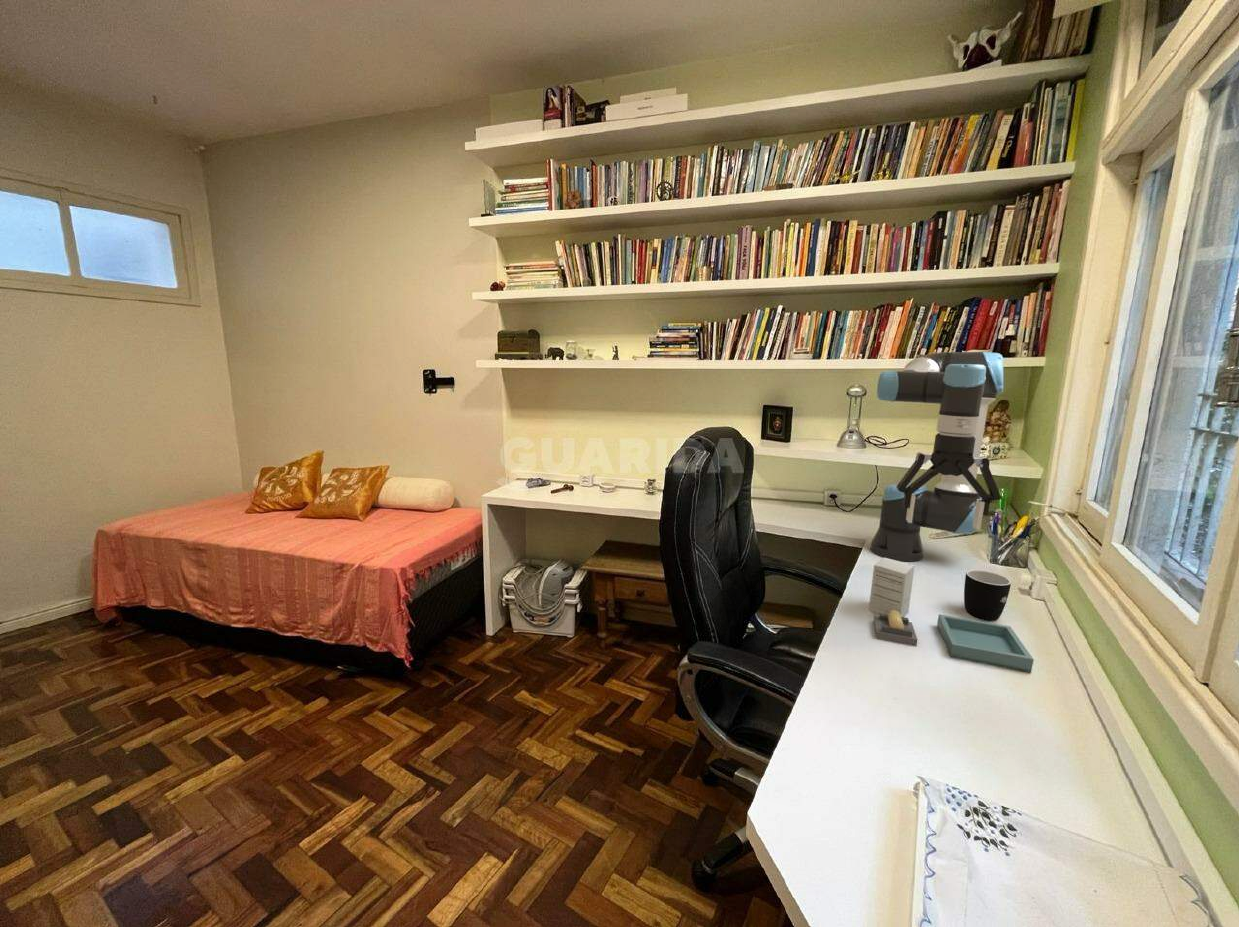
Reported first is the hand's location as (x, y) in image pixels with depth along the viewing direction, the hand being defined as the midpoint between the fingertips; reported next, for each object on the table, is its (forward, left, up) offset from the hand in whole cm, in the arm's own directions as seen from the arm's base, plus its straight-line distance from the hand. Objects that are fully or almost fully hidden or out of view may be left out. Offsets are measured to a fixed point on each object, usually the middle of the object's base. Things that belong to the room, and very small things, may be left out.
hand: (941, 524), depth 117 cm
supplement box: (-1, -8, -25) cm, 26 cm away
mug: (-10, +14, -25) cm, 30 cm away
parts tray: (+9, +9, -24) cm, 27 cm away
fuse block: (+10, -8, -24) cm, 28 cm away
